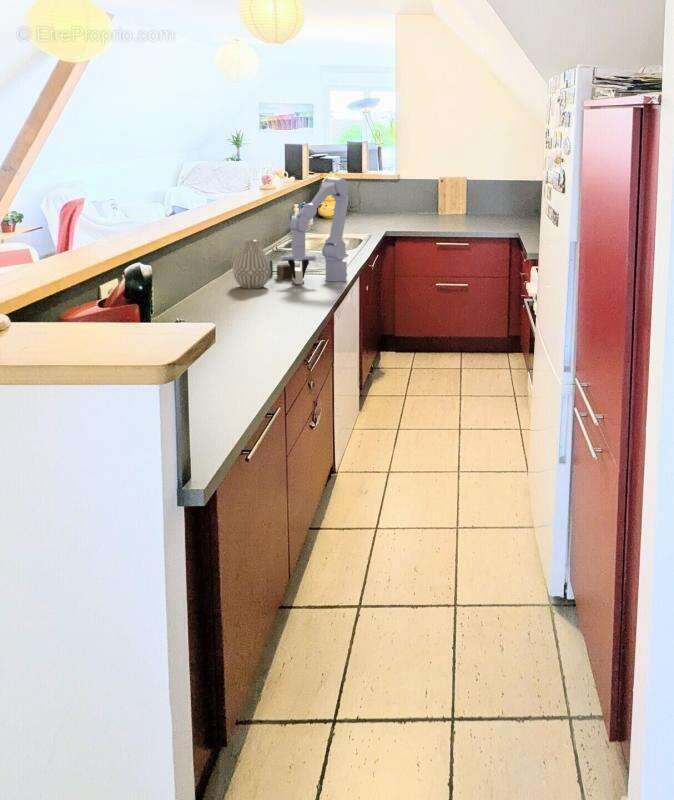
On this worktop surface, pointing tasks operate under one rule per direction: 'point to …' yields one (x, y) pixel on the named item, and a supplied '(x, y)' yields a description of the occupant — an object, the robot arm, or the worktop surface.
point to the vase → (251, 266)
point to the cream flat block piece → (298, 276)
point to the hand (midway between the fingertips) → (298, 277)
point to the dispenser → (285, 269)
